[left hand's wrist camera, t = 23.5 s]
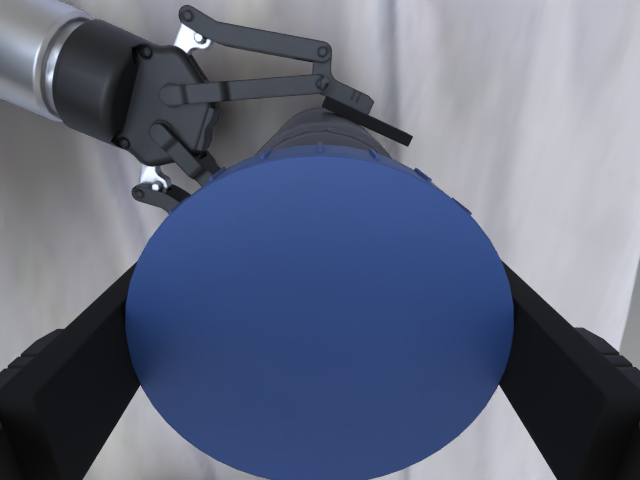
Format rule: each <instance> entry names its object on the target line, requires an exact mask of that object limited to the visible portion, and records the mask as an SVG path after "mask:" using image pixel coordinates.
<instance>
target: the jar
mask: <svg viewBox="0 0 640 480" xmlns="http://www.w3.org/2000/svg"><path fill="white" fill-rule="evenodd" d="M318 142H322V145H336V146H347V147H352V148H357V149H361V150H366V151H369V148H371V149H373V150H374V151H375V152H376V153H377V154H379V155H382V156H385V157H388V158H391V157H390V155H389V154H388V153H387V151H386V150H385V149H384V148H383V147H382V146H381V145H380V144H379V143H378V142H377V141H376V140H375V139H374V138H373V137H372V136H371V135H370V134H369V133H368V132H367V131H366V130H365V129H364V128H363V127H362V126H361V125H360V124H357V123H355V122H353V121H351V120H349V119H347V118H344V117H342V116H340V115H338V114H336V113H334V112H331V111H329V110H327V109H325V108H316V109H310V110H307V111H304V112H302V113H299V114H298V115H296V116H294V117H293V118H291V119H290V120H289V121H288V122H287V123H286V124H285V125H284V126H283V127H282V128H281V129H280V130H279V131H278V132H277V133H276V134H275V135H274V136H273V137H272V138H271V139H270V140H269V141H268V142H267V143H266V144H265V145H264V146H263V147H262V148H261V149H260V150H259V151H258V152H257V154H256V155H255V156H257V155H260V154H263V153H264V152H265V151H266V150H267V149H269V148H271V151H273V150H278V149H283V148H288V147H293V146H303V145H318ZM391 159H392V158H391Z"/></svg>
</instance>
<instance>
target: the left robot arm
mask: <svg viewBox="0 0 640 480" xmlns="http://www.w3.org/2000/svg"><path fill="white" fill-rule="evenodd" d="M501 261H502V260H501ZM137 262H138V261H137ZM137 262H136V263H135V264H134V265H133V266H132V267H131V268H130V269H128V270H127V271H126V272H125V273H124V274H123V275H122V276H121V277H120V278H119V279H118V280H117V281H116V282H114V283H113V284H112V285H111V286H110V287H109V288H108V289H107V290H106V291H105V292H104V293H103V294H102V295H101V296H99V297H98V298H97V299H96V300H95V301H94V302H93V303H92V304H91V305H90V306H89V307H88V308H87V309H85V310H84V311H83V312H82V313H81V314H80V315H79V316H78V317H77V318H76V319H75V320H74V321H73V322H71V323H70V324H69V325H68V326H67V327H66V328H65V329H56V330H55V331H53V332H51V333H49V334H47V335H46V336H44V337H42V338H40V339H38V340H37V341H35V342H34V343H33V344H32V345H31V346H30V347H29V348H27V349H26V350H25V351H24V352H23V353H22V354H21V357H17V358H16V359H15V360H14V361H13V362H12V363H10V364H9V365H8V368H7V369H4V370H2V371H1V372H0V480H83V478H84V476H85V475H86V473H87V471H88V470H89V468H90V467H91V465H92V463H93V462H94V460H95V458H96V457H97V455H98V453H99V452H100V450H101V449H102V447H103V445H104V444H105V442H106V440H107V439H108V437H109V435H110V434H111V432H112V431H113V429H114V427H115V426H116V424H117V422H118V421H119V419H120V417H121V416H122V414H123V413H124V411H125V409H126V408H127V406H128V404H129V403H130V401H131V399H132V398H133V396H134V395H135V393H136V391H137V390H138V388H139V386H140V385H141V384H140V382H139V380H138V378H137V375H136V373H135V371H134V368H133V365H132V361H131V357H130V353H129V348H128V343H127V338H126V331H125V312H126V301H127V295H128V290H129V285H130V281H131V278H132V275H133V273H134V270H135V267H136V264H137ZM502 264H503V266H504V269H505V272H506V275H507V278H508V281H509V284H510V289H511V294H512V300H513V306H514V332H513V340H512V346H511V351H510V355H509V359H508V362H507V366H506V369H505V372H504V374H503V376H502V378H501V380H500V383H499V385H500V387H501V388H502V390H503V392H504V393H505V395H506V397H507V398H508V400H509V402H510V403H511V405H512V406H513V408H514V410H515V411H516V413H517V415H518V416H519V418H520V420H521V421H522V423H523V424H524V426H525V428H526V429H527V431H528V433H529V434H530V436H531V438H532V439H533V441H534V442H535V444H536V446H537V447H538V449H539V451H540V452H541V454H542V456H543V457H544V459H545V460H546V462H547V464H548V465H549V467H550V469H551V470H552V472H553V474H554V475H555V477H556V478H557V480H640V370H638V369H637V368H636V367H633V366H632V363H630V362H629V361H628V360H627V359H626V358H625V357H624V356H622V355H619V352H618V351H617V350H615V349H614V348H613V347H612V346H611V345H610V344H609V343H607V342H606V341H605V340H604V339H602V338H601V337H599V336H597V335H595V334H593V333H592V332H590V331H588V330H586V329H584V328H574V327H573V326H571V325H570V324H569V323H568V322H567V321H566V320H565V319H564V318H563V317H562V316H561V315H560V314H559V313H557V312H556V311H555V310H554V309H553V308H552V307H551V306H550V305H549V304H548V303H547V302H546V301H545V300H544V299H542V298H541V297H540V296H539V295H538V294H537V293H536V292H535V291H534V290H533V289H532V288H531V287H530V286H528V285H527V284H526V283H525V282H524V281H523V280H522V279H521V278H520V277H519V276H518V275H517V274H516V273H515V272H513V271H512V270H511V269H510V268H509V267H508V266H507V265H506V264H505V263H504V262H503V261H502Z"/></svg>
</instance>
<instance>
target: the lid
mask: <svg viewBox="0 0 640 480" xmlns="http://www.w3.org/2000/svg"><path fill="white" fill-rule="evenodd" d="M208 180H209V182H208V183H206V184H205V185H204V186H202V187H201V188H200V189H199V190H197V191H196V192H195V193H194V194H192V195H191V196H190V197H189V198H188V197H186V198H185V199H184V200H183V201H181V202H180V203H179V204H178V205H176V206H175V207H174V208H173V209H171V210H170V211H169V212H168V214H169V216H168V217H167V218H166V219H165V220H164V221H163V223H162V224H161V225H160V227H159V228H158V229H157V230H156V232H155V233H154V234H153V236H152V237H151V238H150V239H149V241H148V243H147V245H146V247H145V249H144V250H143V252H142V254H141V256H140V258H139V259H138V262H137V264H136V267H135V270H134V273H133V275H132V278H131V281H130V285H129V290H128V295H127V301H126V312H125V331H126V338H127V343H128V348H129V353H130V357H131V361H132V365H133V368H134V371H135V373H136V375H137V378H138V380H139V382H140V384H141V387H142V389H143V390H144V392H145V393H146V395H147V397H148V398H149V400H150V401H151V403H152V405H153V406H154V407H155V409H156V410H157V411H158V412H159V414H160V415H161V416H162V417H163V418H164V420H165V421H166V422H167V423H168V424H169V425H170V426H171V427H172V428H173V429H174V430H175V431H176V432H177V433H179V434H180V435H181V436H182V437H183V438H184V439H186V440H187V441H188V442H190V443H191V444H192V445H194V446H195V447H196V448H198V449H199V450H201V451H202V452H204V453H206V454H207V455H209V456H211V457H212V458H214V459H216V460H217V461H220V462H222V463H224V464H226V465H228V466H231V467H233V468H235V469H237V470H240V471H243V472H246V473H249V474H252V475H255V476H258V477H262V478H266V479H271V480H368V479H373V478H377V477H381V476H384V475H387V474H390V473H393V472H396V471H399V470H402V469H404V468H406V467H409V466H411V465H413V464H415V463H417V462H420V461H422V460H423V459H425V458H427V457H429V456H430V455H432V454H434V453H435V452H437V451H439V450H440V449H442V448H443V447H444V446H446V445H447V444H448V443H450V442H451V441H452V440H454V439H455V438H456V437H457V436H459V435H460V434H461V433H462V432H463V431H464V430H465V429H466V428H467V427H468V426H469V425H470V424H471V423H472V422H473V421H474V420H475V419H476V417H477V416H478V415H479V414H480V413H481V411H482V410H483V409H484V408H485V406H486V405H487V403H488V402H489V400H490V399H491V397H492V395H493V394H494V392H495V391H496V389H497V387H498V385H499V383H500V380H501V378H502V376H503V374H504V372H505V369H506V366H507V362H508V359H509V355H510V351H511V346H512V340H513V332H514V306H513V300H512V294H511V289H510V284H509V281H508V278H507V275H506V272H505V269H504V266H503V264H502V261H501V259H500V257H499V256H498V254H497V252H496V250H495V248H494V246H493V245H492V243H491V241H490V239H489V238H488V237H487V235H486V234H485V233H484V232H483V230H482V229H481V228H480V226H479V225H478V224H477V222H476V221H475V220H474V219H473V218H472V217H471V216H470V215H471V214H472V213H471V212H470V211H469V210H468V209H466V208H465V207H464V206H463V205H461V204H460V203H459V202H458V201H456V200H455V199H454V198H450V197H449V196H448V195H447V194H445V193H444V192H443V191H442V190H441V189H439V188H438V187H437V186H436V185H434V184H433V183H432V182H431V181H432V180H431V179H430V178H429V177H428V176H426V175H425V174H424V173H423V172H421V171H420V170H419V169H417V168H415V169H414V170H413V169H411V168H409V167H407V166H405V165H403V164H401V163H399V162H397V161H395V160H393V159H391V158H388V157H385V156H382V155H379V154H377V153H376V152H375V151H374V150H373V149H371V148H369V151H366V150H361V149H357V148H352V147H347V146H336V145H322V142H318V145H303V146H293V147H288V148H283V149H278V150H273V151H271V148H269V149H267V150H266V151H265V152H264V153H263V154H260V155H257V156H254V157H251V158H249V159H246V160H244V161H242V162H240V163H238V164H236V165H234V166H232V167H230V168H228V169H225V167H224V168H222V169H221V170H219V171H218V172H217V173H215V174H214V175H213V176H212V177H210V178H209V179H208Z"/></svg>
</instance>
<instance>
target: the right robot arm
mask: <svg viewBox="0 0 640 480" xmlns="http://www.w3.org/2000/svg"><path fill="white" fill-rule="evenodd" d="M179 19H180V21H181V23H182V24H181V27H180V30H179V32H178V35H177V37H176V40H175V43H174V45H169V46H158V45H156V44H154V43H151V42H149V41H147V40H145V39H143V38H140V37H138V36H136V35H134V34H132V33H129V32H127V31H125V30H123V29H121V28H118V27H116V26H114V25H112V24H110V23H107V22H105V21H103V20H94V19H93V18H92V17H91V16H90V15H89V14H88V13H85V12H83V11H81V10H79V9H77V8H74V7H72V6H70V5H68V4H66V3H63V2H61V1H59V0H0V99H2V100H5V101H7V102H9V103H12V104H14V105H17V106H19V107H21V108H24V109H26V110H29V111H31V112H33V113H36V114H38V115H40V116H43V117H45V118H48V119H50V120H53V121H55V122H63V123H64V124H65V125H67V126H68V127H70V128H72V129H75V130H77V131H79V132H82V133H84V134H87V135H89V136H92V137H94V138H96V139H99V140H101V141H104V142H106V143H109V144H111V145H113V146H116V147H119V148H122V149H124V150H127V151H129V152H130V153H131V154H133V155H134V156H135V157H136V158H137V159H138V161H139V162H141V163H142V167H141V174H140V180H139V185H137V186H135V187H134V188H133V189H132V196H133V198H134V199H135V200H137V201H140V202H143V203H146V204H150V205H153V206H157V207H160V208H162V209H164V210H165V211H167V212H169V211H170V210H171V209H173V208H174V207H175V206H176V205H178V204H179V203H180V202H181V201H183V200H184V199H185V198H186V197H188V198H189V197H190V196H191V194H189V193H188V192H186V191H185V190H183V189H181V188H180V187H177V186H175V185H173V184H172V182H171V179H170V178H169V177H168V176H166V175H165V174H163V173H162V171H161V169H160V166H161V165H165V164H170V163H174V162H176V163H177V164H178V165H179V166H180V167H181V169H182V170H183V171H184V172H185V173H186V174H187V175H188V176H189V177H190V178H192V179H195V180H196V181H197V182H198V183H199V184H200V185H201V186H204V185H205V184H206V183H208V182H209V180H208V179H209V178H210V177H212V176H213V175H214V174H215V173H217V172H218V171H219V170H221V168H220V167H219V166H218V165H217V164H216V162H215V159H214V158H213V157H212V155H211V154H210V153H209V152H208V151H207V150H206V149H207V148H209V146H210V142H211V139H212V127H213V125H214V124H215V122H216V121H217V119H218V118H219V115H220V112H221V109H222V108H221V107H220V101H232V100H244V99H257V98H270V97H283V96H295V95H308V94H321V95H324V96H326V98H325V100H324V102H323V105H322V107H323V108H325V109H327V110H329V111H331V112H334V113H336V114H338V115H340V116H342V117H344V118H347V119H349V120H351V121H353V122H355V123H357V124H360V125H362V126H364V127H366V128H368V129H370V130H373V131H375V132H377V133H379V134H381V135H383V136H386V137H388V138H390V139H392V140H394V141H397V142H399V143H401V144H403V145H405V146H407V147H408V146H409V144H410V142H411V140H412V138H413V136H411V135H409V134H407V133H406V132H403V131H401V130H399V129H397V128H395V127H393V126H391V125H388V124H386V123H384V122H382V121H380V120H378V119H376V118H373V117H371V116H369V115H368V114H369V112H370V110H371V108H372V106H373V103H374V101H373V100H372V99H371V98H370V97H369V96H368V95H366V94H364V93H361V92H359V91H357V90H355V89H353V88H351V87H349V86H347V85H345V84H343V83H340V82H338V81H337V80H335V79H334V78H333V76H332V74H331V58H332V49H331V46H330V45H329V44H328V43H326V42H324V41H318V40H313V39H308V38H302V37H297V36H292V35H286V34H281V33H276V32H270V31H265V30H260V29H254V28H249V27H244V26H238V25H233V24H228V23H222V22H217V21H215V20H214V19H212V18H210V17H209V16H207V15H205V14H204V13H202V12H200V11H199V10H197V9H196V8H194V7H192V6H190V5H184V6H183V7H181V9H180V10H179ZM215 42H216V43H219V44H221V45H224V46H227V47H231V48H237V49H242V50H248V51H253V52H258V53H264V54H269V55H275V56H280V57H286V58H291V59H296V60H302V61H307V62H313V73H312V75H300V76H288V77H275V78H263V79H251V80H238V81H224V82H210V83H209V81H208V79H207V78H206V76H205V75H204V73H203V72H202V70H201V69H200V67H199V65H198V64H197V62H196V61H195V59H194V58H193V56H192V53H193V51H194V50H196V49H203V50H209V49H211V48H212V47H213V45H214V43H215Z"/></svg>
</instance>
